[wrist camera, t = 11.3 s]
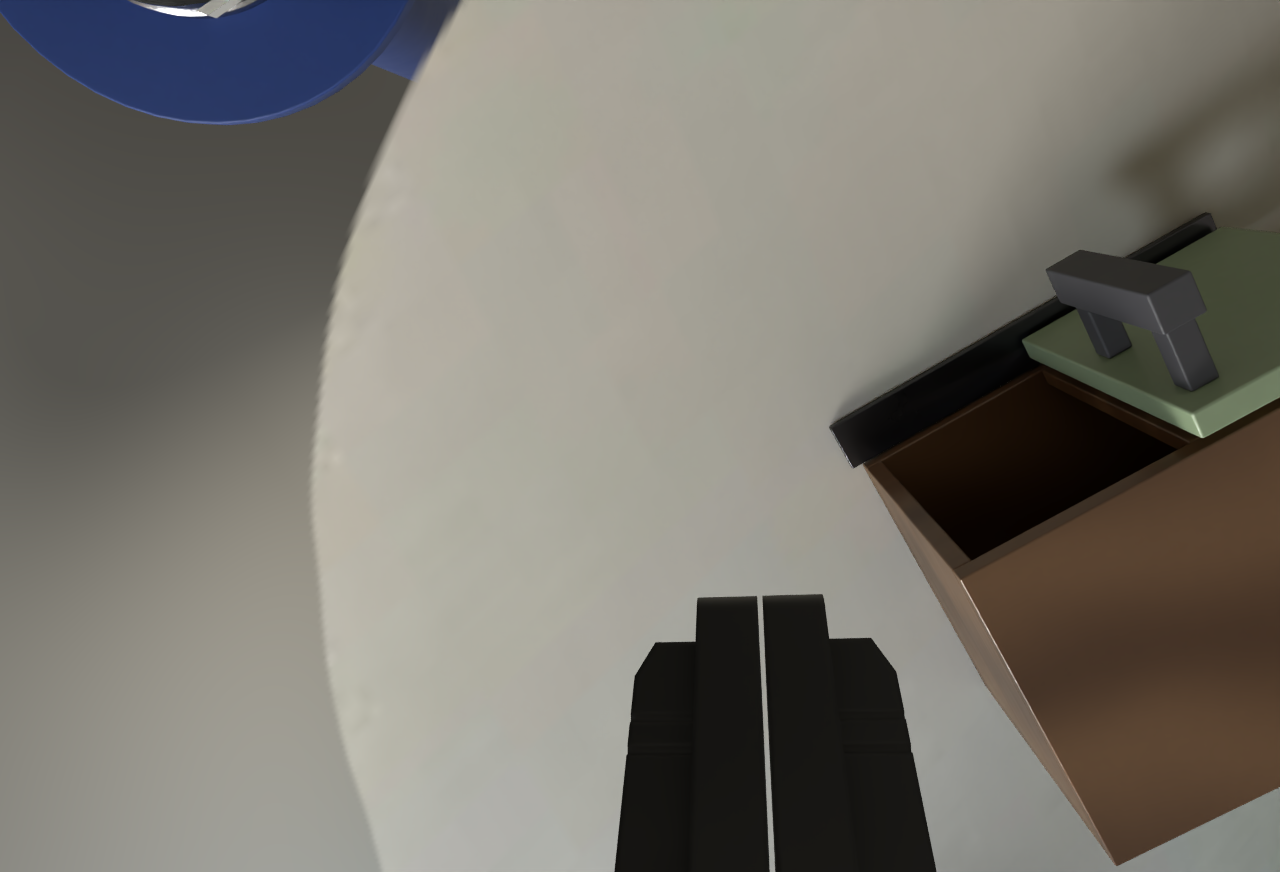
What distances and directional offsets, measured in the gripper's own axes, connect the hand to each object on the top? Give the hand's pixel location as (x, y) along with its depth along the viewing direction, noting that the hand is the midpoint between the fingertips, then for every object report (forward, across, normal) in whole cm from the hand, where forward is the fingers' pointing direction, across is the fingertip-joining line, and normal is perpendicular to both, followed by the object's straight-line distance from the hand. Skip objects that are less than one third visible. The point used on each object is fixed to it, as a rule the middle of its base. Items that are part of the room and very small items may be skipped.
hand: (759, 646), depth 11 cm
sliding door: (+23, -12, +5) cm, 27 cm away
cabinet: (+21, -13, +14) cm, 28 cm away
